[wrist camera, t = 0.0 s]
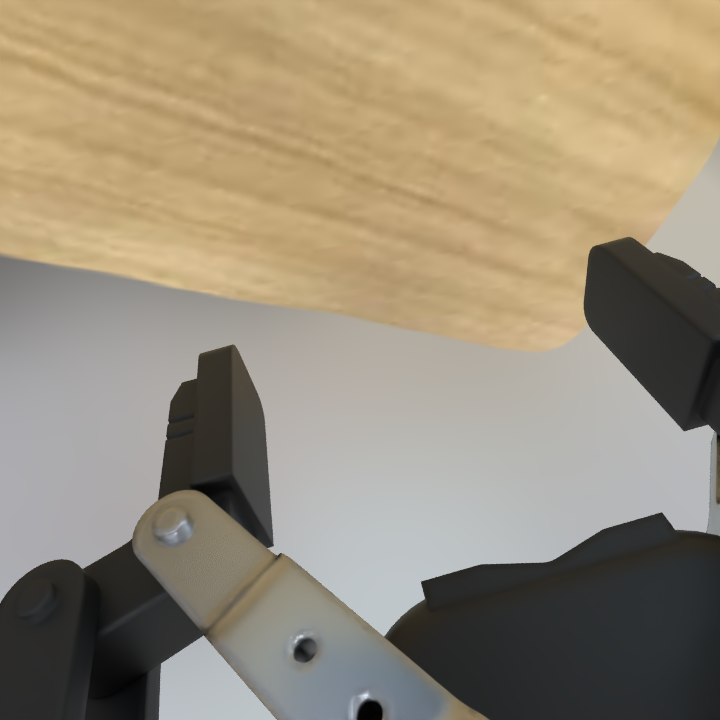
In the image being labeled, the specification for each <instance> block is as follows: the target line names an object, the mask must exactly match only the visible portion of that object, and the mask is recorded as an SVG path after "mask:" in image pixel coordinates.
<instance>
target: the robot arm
mask: <svg viewBox="0 0 720 720" xmlns="http://www.w3.org/2000/svg"><path fill="white" fill-rule="evenodd" d="M584 313H585V317H586V320H587V323H588V325H589V327H590V328H591V330H592V331H593V332H594V333H595V334H596V335H597V336H598V337H599V339H600V340H601V341H602V342H603V343H604V344H605V345H606V346H607V347H608V348H609V349H610V351H611V352H612V353H613V354H614V355H615V356H616V357H617V358H618V359H619V360H620V362H621V363H622V364H623V365H624V366H625V367H626V368H627V369H628V370H629V371H630V373H631V374H632V375H633V376H634V377H635V378H636V379H637V380H638V381H639V382H640V384H641V385H642V386H643V387H644V388H645V389H646V390H647V391H648V392H649V393H650V394H651V396H652V397H654V398H655V400H656V401H657V402H658V403H659V404H660V405H661V406H662V408H663V409H664V410H665V411H666V412H667V413H668V414H669V415H670V416H671V417H672V419H674V421H675V422H676V423H677V424H678V425H679V426H680V427H681V428H682V430H683V431H687V430H690V429H694V428H698V427H701V426H705V425H709V426H710V427H711V428H712V429H713V430H714V431H715V432H714V435H713V438H712V441H711V465H710V502H709V521H708V527H707V532H706V533H703V532H698V531H685V530H675V529H674V528H673V527H672V525H671V524H670V523H669V521H668V520H667V519H666V517H665V516H664V514H663V513H658V514H655V515H651V516H648V517H644V518H641V519H637V520H634V521H630V522H627V523H623V524H620V525H616V526H613V527H609V528H606V529H603V530H601V531H600V532H598V533H596V534H595V535H593V536H592V537H590V538H589V539H587V540H585V541H584V542H582V543H581V544H579V545H577V546H576V547H574V548H572V549H571V550H569V551H568V552H566V553H564V554H563V555H561V556H560V557H558V558H556V559H555V560H553V561H550V562H546V563H516V564H482V565H478V566H474V567H470V568H467V569H463V570H460V571H457V572H453V573H450V574H446V575H442V576H439V577H435V578H432V579H429V580H425V581H422V582H421V584H422V588H423V592H424V596H425V600H423V601H421V602H420V603H418V604H417V605H415V606H414V607H412V608H411V609H410V610H409V611H408V612H407V613H405V614H404V615H403V616H401V618H400V619H399V620H398V621H397V622H396V623H395V624H394V625H393V626H392V627H391V629H390V630H389V631H388V632H387V634H386V635H385V637H383V636H382V635H381V634H380V633H379V632H377V631H376V630H375V629H374V628H373V627H372V626H370V625H369V624H368V623H367V622H366V621H364V620H363V619H362V618H361V617H360V616H358V615H357V614H356V613H355V612H354V611H353V610H351V609H350V608H349V607H348V606H347V605H346V604H344V603H343V602H342V601H341V600H339V599H338V598H337V597H336V596H335V595H334V594H333V593H331V592H330V591H329V590H328V589H327V588H325V587H324V586H323V585H322V584H321V583H320V582H318V581H317V580H316V579H315V578H313V577H312V576H311V575H310V574H309V573H308V572H307V571H305V570H304V569H303V568H302V567H301V566H299V565H298V564H297V563H295V562H294V561H293V560H292V559H291V558H289V557H288V556H286V555H284V554H282V553H280V554H279V555H278V556H277V555H275V554H274V553H272V552H271V551H270V550H269V549H268V548H269V547H272V546H274V544H273V530H272V517H271V504H270V503H271V502H270V488H269V474H268V460H267V446H266V432H265V420H264V413H263V409H262V405H261V401H260V398H259V396H258V393H257V391H256V389H255V387H254V384H253V382H252V380H251V378H250V376H249V373H248V371H247V369H246V367H245V365H244V362H243V360H242V358H241V356H240V354H239V351H238V350H237V348H236V346H235V345H230V346H226V347H222V348H219V349H215V350H212V351H208V352H205V353H201V354H200V355H199V360H198V373H197V379H194V380H190V381H187V382H183V383H182V384H181V386H180V387H179V389H178V391H177V392H176V394H175V395H174V397H173V399H172V400H171V404H170V411H169V419H168V421H169V424H168V427H167V435H166V437H167V440H166V442H165V450H164V458H163V466H162V475H161V482H160V490H159V498H158V501H157V502H155V503H154V504H153V505H152V506H151V507H150V508H149V509H147V510H146V512H145V513H144V514H143V515H142V517H141V518H140V520H139V521H138V523H137V525H136V527H135V530H134V533H133V538H132V539H131V540H130V541H129V542H128V543H126V544H125V545H123V546H122V547H120V548H118V549H117V550H115V551H113V552H111V553H110V554H108V555H107V556H104V557H103V558H101V559H99V560H98V561H96V562H94V563H92V564H91V565H89V566H87V567H86V568H84V569H82V568H81V567H80V566H79V565H77V564H76V563H74V562H73V561H70V560H63V559H61V560H54V561H50V562H47V563H44V564H42V565H40V566H38V567H36V568H34V569H33V570H31V571H30V572H28V573H27V574H25V575H24V576H23V577H22V578H21V579H19V580H18V581H17V582H16V583H15V584H14V586H13V587H12V588H11V589H10V590H9V591H8V593H7V594H6V595H5V597H4V598H3V600H2V601H1V603H0V720H158V719H159V694H160V669H161V663H162V662H164V661H165V660H167V659H168V658H170V657H171V656H173V655H174V654H176V653H178V652H179V651H181V650H182V649H184V648H185V647H187V646H188V645H189V644H191V643H193V642H194V641H196V640H197V639H199V638H200V637H202V636H203V635H204V636H205V637H206V638H207V640H208V641H209V642H210V643H211V644H212V645H213V646H214V648H215V649H216V650H217V651H218V652H219V654H220V655H221V656H222V657H223V658H224V659H225V660H226V662H227V663H228V664H229V665H230V666H231V667H232V669H233V670H234V671H235V672H236V673H237V674H238V675H239V677H240V678H241V679H242V680H243V681H244V682H245V684H246V685H247V686H248V687H249V688H250V689H251V690H252V692H253V693H254V694H255V695H256V696H257V697H258V699H259V700H260V701H261V702H262V703H263V704H264V705H265V706H266V707H267V709H268V710H269V711H270V712H271V713H272V715H273V716H274V717H275V718H276V719H277V720H720V288H716V287H715V284H714V283H712V282H711V281H709V280H708V279H707V278H705V277H701V274H700V273H698V272H697V271H696V270H694V269H693V268H691V267H690V266H689V265H687V264H686V263H684V262H683V261H681V260H678V259H675V258H672V257H670V256H667V255H664V254H661V253H658V252H657V253H652V252H651V251H650V250H648V249H647V248H646V247H644V246H643V245H642V244H640V243H639V242H638V241H636V240H635V239H633V238H631V237H626V238H622V239H618V240H615V241H611V242H608V243H604V244H600V245H597V246H594V247H592V249H591V250H590V253H589V257H588V267H587V276H586V286H585V296H584Z"/></svg>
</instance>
